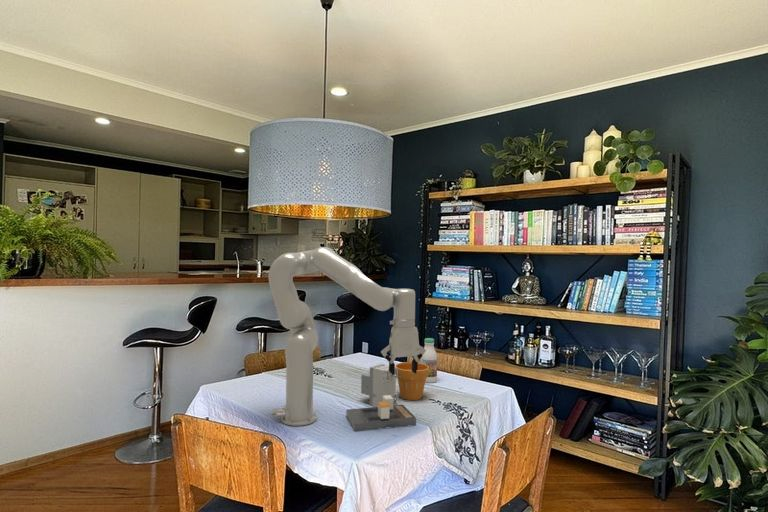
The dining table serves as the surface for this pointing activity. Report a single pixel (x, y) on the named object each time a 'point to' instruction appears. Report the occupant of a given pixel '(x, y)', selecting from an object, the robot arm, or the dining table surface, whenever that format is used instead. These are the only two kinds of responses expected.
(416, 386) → the flower pot
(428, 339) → the milk bottle
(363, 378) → the circuit breaker
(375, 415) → the slotted slider board
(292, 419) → the robot arm
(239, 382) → the dining table surface
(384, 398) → the on lever
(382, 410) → the lever
